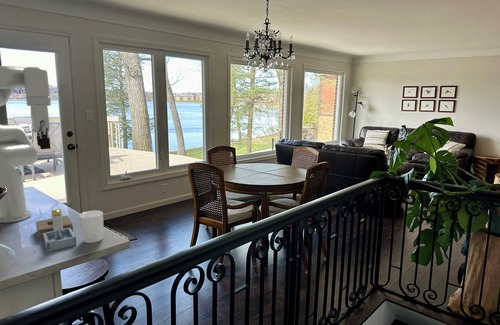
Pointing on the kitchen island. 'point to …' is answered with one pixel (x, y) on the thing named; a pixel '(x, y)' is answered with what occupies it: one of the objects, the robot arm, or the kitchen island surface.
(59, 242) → the tray
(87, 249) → the kitchen island surface
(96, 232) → the white cup
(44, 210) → the kitchen island surface
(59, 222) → the pin
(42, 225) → the socket block
